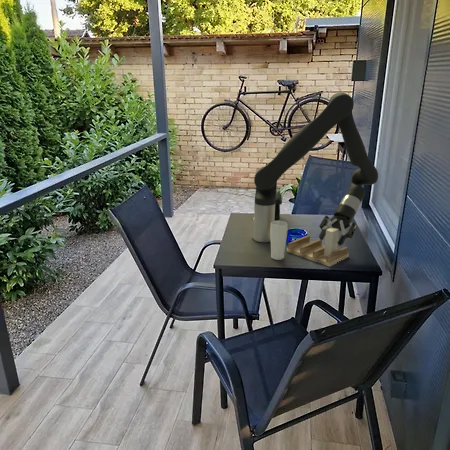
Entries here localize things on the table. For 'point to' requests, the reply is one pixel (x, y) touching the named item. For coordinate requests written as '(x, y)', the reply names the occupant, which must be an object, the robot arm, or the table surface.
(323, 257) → the ridged wooden tray
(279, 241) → the drinking glass
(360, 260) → the table surface
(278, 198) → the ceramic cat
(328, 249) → the cream rectangular block
